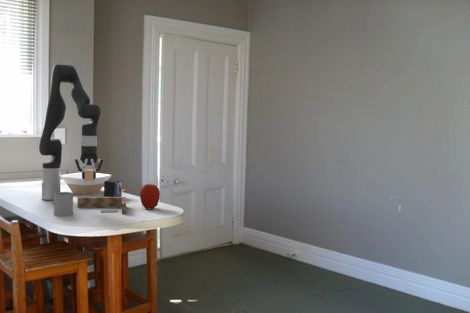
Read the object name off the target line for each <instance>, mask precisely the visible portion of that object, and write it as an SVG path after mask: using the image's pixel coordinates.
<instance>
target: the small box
mask: <svg viewBox="0 0 470 313" xmlns="http://www.w3.org/2000/svg"><path fill="white" fill-rule="evenodd" d="M122 181H123V180H122V179H116V178H115V179H114V178H111V179H110V178H109V179H108V180H106V181H104V185H103V197H122V192H123V191H122V190H123V189H122V187H123V186H122V183H123V182H122Z"/></svg>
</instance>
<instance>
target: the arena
mask: <svg viewBox="0 0 470 313" xmlns="http://www.w3.org/2000/svg"><path fill="white" fill-rule="evenodd" d="M76 201H77V202H76V203H77V205H76V206H77V208H79V209H80V208H121V215H127V197H126V196H121V197H104V196H77V200H76Z"/></svg>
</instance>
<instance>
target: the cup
mask: <svg viewBox="0 0 470 313" xmlns="http://www.w3.org/2000/svg"><path fill="white" fill-rule="evenodd" d="M53 215H54V216H57V217H68V216H72V215H74V193H72V191H71V192H70V191H60V192H58V193H54V200H53Z"/></svg>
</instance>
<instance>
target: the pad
mask: <svg viewBox="0 0 470 313" xmlns="http://www.w3.org/2000/svg"><path fill="white" fill-rule="evenodd" d="M118 212H119V211H118V209H101V210H100V213H118Z"/></svg>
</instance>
